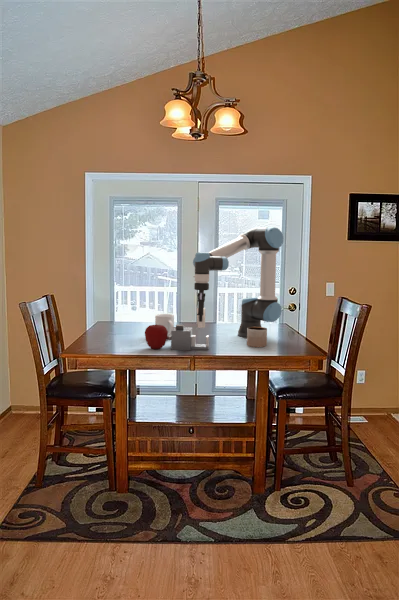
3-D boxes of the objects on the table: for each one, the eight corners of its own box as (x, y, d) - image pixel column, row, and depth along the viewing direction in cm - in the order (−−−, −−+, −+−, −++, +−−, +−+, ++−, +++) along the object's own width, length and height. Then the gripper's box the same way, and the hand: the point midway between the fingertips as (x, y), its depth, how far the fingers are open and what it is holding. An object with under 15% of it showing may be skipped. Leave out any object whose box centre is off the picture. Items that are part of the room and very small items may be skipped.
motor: (208, 346, 257) (209, 324, 256) (208, 350, 246) (208, 327, 244) (168, 344, 259) (168, 323, 257) (165, 349, 247) (165, 326, 245)
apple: (148, 351, 241) (148, 325, 240) (142, 347, 252) (141, 322, 250) (171, 349, 246) (171, 324, 245) (163, 345, 257) (163, 321, 255)
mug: (180, 339, 276) (181, 316, 274) (164, 340, 270) (164, 318, 268) (168, 334, 288) (168, 313, 287) (151, 336, 282) (151, 314, 281)
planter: (261, 348, 254) (262, 330, 252) (243, 346, 259) (243, 328, 258) (269, 345, 263) (270, 327, 262) (252, 342, 268) (252, 325, 267)
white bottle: (205, 326, 252) (205, 304, 251) (204, 328, 248) (205, 305, 247) (196, 326, 253) (197, 303, 251) (196, 327, 248) (196, 304, 247)
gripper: (195, 280, 257) (194, 323, 259) (193, 283, 239) (192, 329, 242) (209, 281, 256) (208, 324, 259) (208, 283, 239) (207, 329, 242)
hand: (200, 326), depth 250 cm, fingers closed on white bottle, 4 cm apart
